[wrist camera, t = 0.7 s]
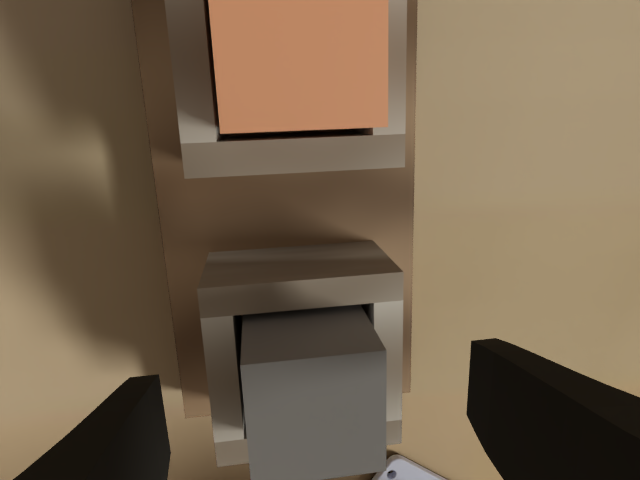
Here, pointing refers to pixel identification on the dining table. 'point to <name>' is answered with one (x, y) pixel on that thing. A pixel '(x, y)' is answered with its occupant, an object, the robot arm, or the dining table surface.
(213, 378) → the press board
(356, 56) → the terracotta plunger
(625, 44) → the dining table surface
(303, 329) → the grey cube
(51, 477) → the robot arm
